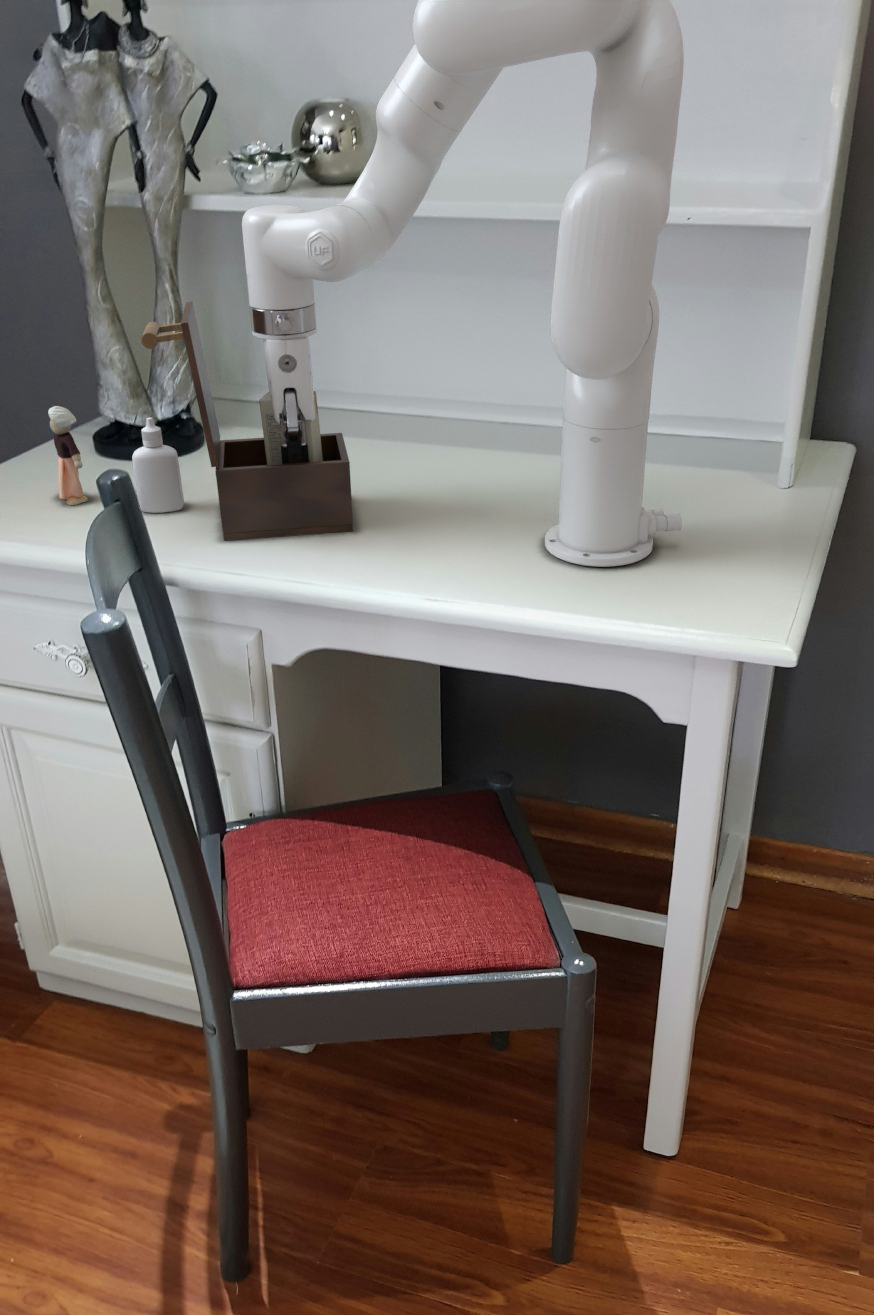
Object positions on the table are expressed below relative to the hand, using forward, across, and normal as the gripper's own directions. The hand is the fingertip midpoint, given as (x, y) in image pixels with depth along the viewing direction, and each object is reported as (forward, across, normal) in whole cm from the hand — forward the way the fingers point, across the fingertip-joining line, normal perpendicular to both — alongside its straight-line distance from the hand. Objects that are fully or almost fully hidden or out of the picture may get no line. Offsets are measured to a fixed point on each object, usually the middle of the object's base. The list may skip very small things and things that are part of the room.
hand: (295, 468), depth 138 cm
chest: (+7, 0, +2) cm, 7 cm away
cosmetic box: (+3, 0, 0) cm, 3 cm away
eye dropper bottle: (+7, +7, +18) cm, 20 cm away
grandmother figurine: (+7, +12, +29) cm, 32 cm away
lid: (-11, 0, +10) cm, 15 cm away
